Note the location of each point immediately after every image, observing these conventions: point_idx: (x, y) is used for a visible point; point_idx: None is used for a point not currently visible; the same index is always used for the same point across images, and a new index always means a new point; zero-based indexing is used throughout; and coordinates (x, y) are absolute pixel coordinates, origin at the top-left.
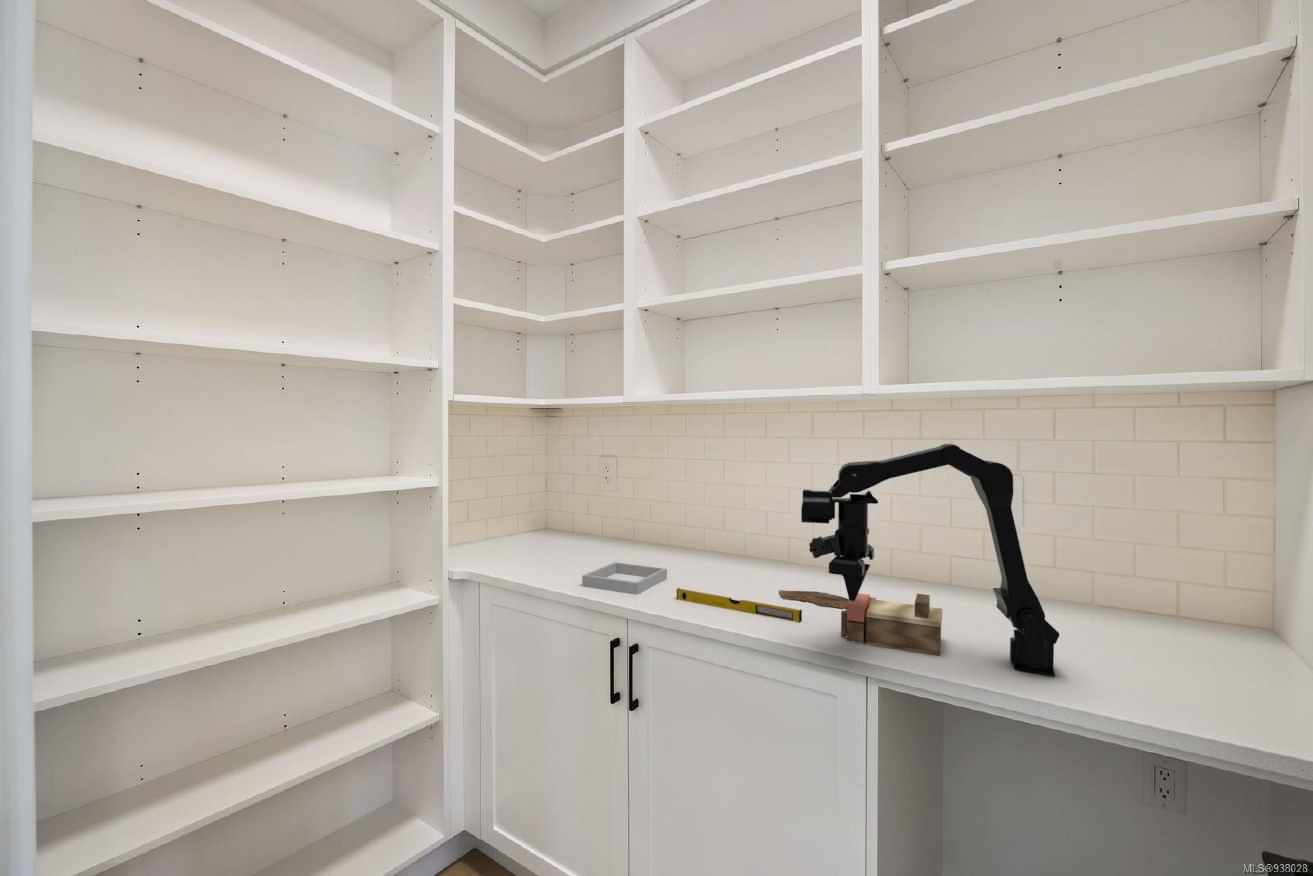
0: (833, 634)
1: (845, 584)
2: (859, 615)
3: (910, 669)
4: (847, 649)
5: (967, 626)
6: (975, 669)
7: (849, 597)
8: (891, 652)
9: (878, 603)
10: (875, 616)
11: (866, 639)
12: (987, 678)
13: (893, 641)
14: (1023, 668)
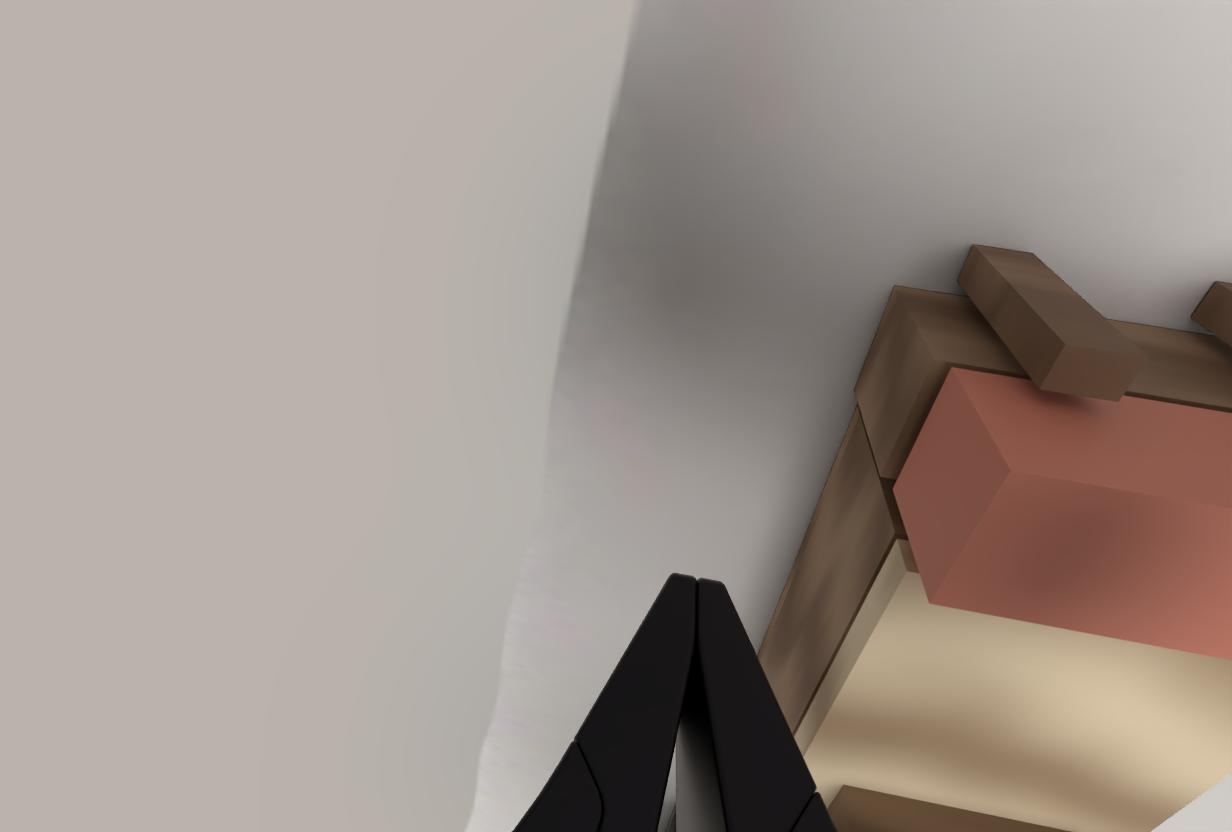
0: (1061, 177)
1: (566, 757)
2: (920, 498)
3: (539, 553)
4: (716, 289)
5: (1198, 826)
6: None
7: (658, 602)
8: (739, 513)
9: (1214, 679)
10: (871, 601)
11: (862, 424)
12: (571, 731)
13: (810, 558)
14: (672, 823)
